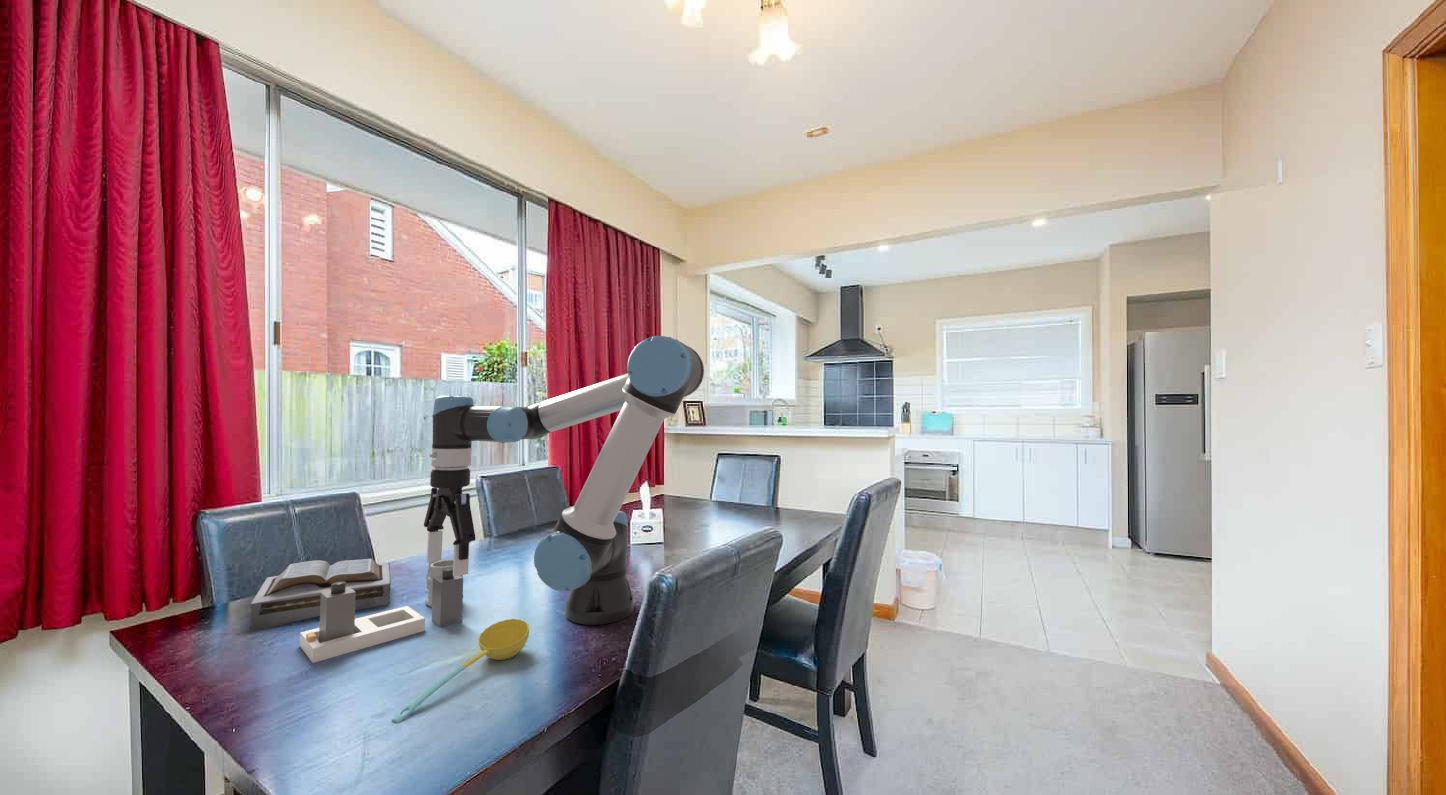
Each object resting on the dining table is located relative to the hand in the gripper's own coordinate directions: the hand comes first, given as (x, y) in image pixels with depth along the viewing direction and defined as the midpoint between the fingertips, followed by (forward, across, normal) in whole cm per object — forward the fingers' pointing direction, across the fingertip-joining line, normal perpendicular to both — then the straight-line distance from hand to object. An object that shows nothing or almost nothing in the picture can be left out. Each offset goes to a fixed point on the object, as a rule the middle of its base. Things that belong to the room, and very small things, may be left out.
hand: (446, 568), depth 109 cm
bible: (+13, -31, -13) cm, 37 cm away
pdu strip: (+12, -2, -14) cm, 19 cm away
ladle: (+12, +26, -6) cm, 29 cm away
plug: (+12, 0, 0) cm, 12 cm away
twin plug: (+11, -2, -18) cm, 22 cm away
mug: (+12, -14, +4) cm, 19 cm away
